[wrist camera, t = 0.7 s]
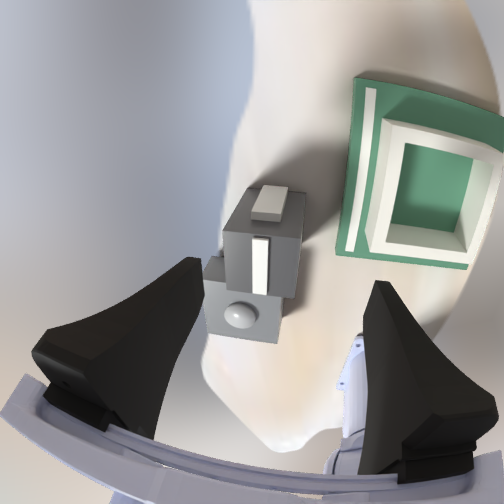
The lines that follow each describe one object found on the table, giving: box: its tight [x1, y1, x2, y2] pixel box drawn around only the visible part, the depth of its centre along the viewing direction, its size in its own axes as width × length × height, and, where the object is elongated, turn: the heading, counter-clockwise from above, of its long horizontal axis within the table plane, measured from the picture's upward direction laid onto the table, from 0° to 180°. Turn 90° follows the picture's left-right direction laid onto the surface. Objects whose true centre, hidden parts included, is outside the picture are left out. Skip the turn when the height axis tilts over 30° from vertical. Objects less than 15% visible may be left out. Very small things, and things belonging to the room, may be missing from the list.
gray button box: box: [202, 256, 284, 344], centre depth 23 cm, size 8×6×3 cm
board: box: [335, 78, 504, 270], centre depth 16 cm, size 12×11×4 cm
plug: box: [222, 185, 306, 299], centre depth 18 cm, size 4×4×6 cm
